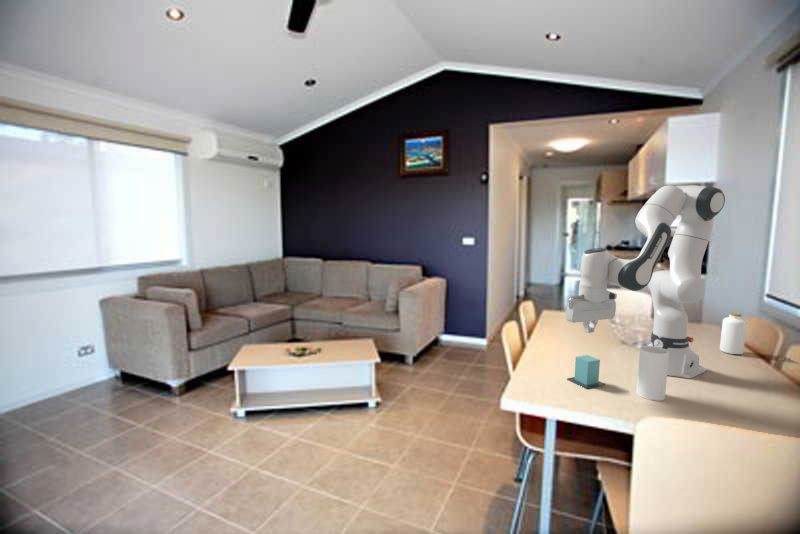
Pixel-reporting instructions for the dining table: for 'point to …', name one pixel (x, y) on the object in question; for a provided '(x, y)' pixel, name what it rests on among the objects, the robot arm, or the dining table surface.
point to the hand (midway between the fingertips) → (589, 332)
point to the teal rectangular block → (587, 369)
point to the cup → (652, 372)
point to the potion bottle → (733, 334)
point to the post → (586, 385)
